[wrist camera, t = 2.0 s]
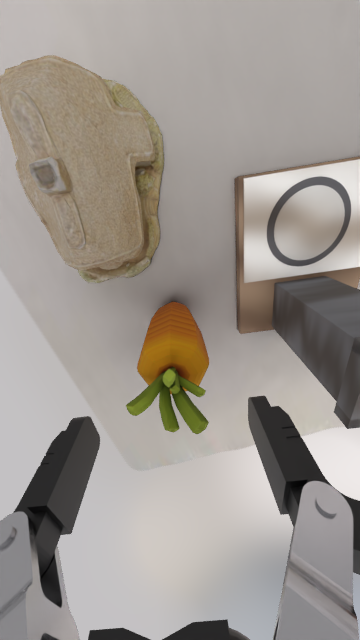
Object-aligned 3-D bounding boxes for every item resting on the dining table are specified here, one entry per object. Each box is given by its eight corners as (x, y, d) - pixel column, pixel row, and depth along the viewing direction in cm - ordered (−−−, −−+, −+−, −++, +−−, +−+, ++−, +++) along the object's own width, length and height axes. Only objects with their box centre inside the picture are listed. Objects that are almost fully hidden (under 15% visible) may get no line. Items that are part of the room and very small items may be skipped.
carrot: (142, 308, 23) (98, 434, 10) (171, 274, 22) (163, 371, 8) (176, 332, 25) (177, 470, 12) (205, 303, 23) (245, 424, 10)
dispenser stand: (234, 178, 18) (350, 109, 6) (378, 155, 17) (818, 26, 6) (237, 328, 25) (295, 435, 13) (341, 315, 24) (502, 413, 12)
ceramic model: (7, 102, 16) (-214, -44, 7) (152, 71, 15) (118, -134, 6) (77, 282, 22) (9, 327, 13) (181, 265, 21) (185, 301, 13)
